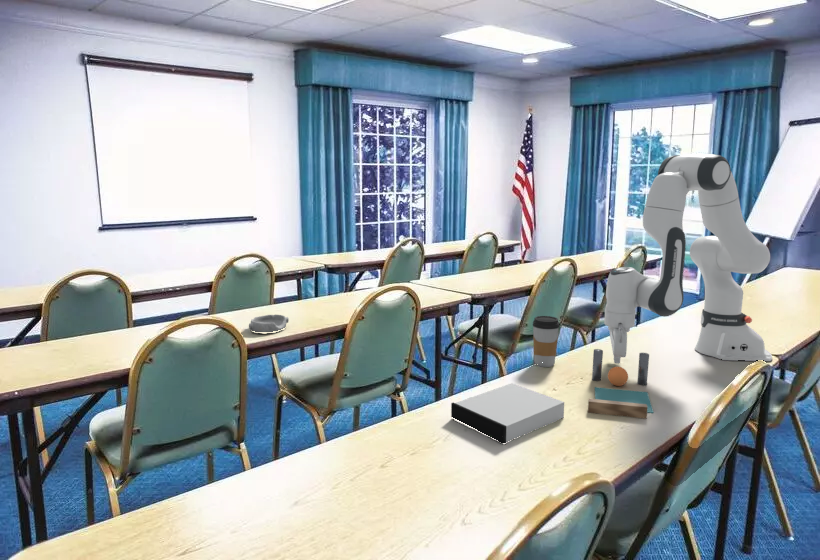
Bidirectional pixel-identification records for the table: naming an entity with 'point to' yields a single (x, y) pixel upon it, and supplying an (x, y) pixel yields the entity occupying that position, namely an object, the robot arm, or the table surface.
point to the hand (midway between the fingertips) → (616, 362)
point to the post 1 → (597, 364)
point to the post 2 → (643, 368)
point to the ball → (618, 376)
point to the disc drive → (508, 412)
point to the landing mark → (624, 396)
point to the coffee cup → (545, 340)
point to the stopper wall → (617, 408)
